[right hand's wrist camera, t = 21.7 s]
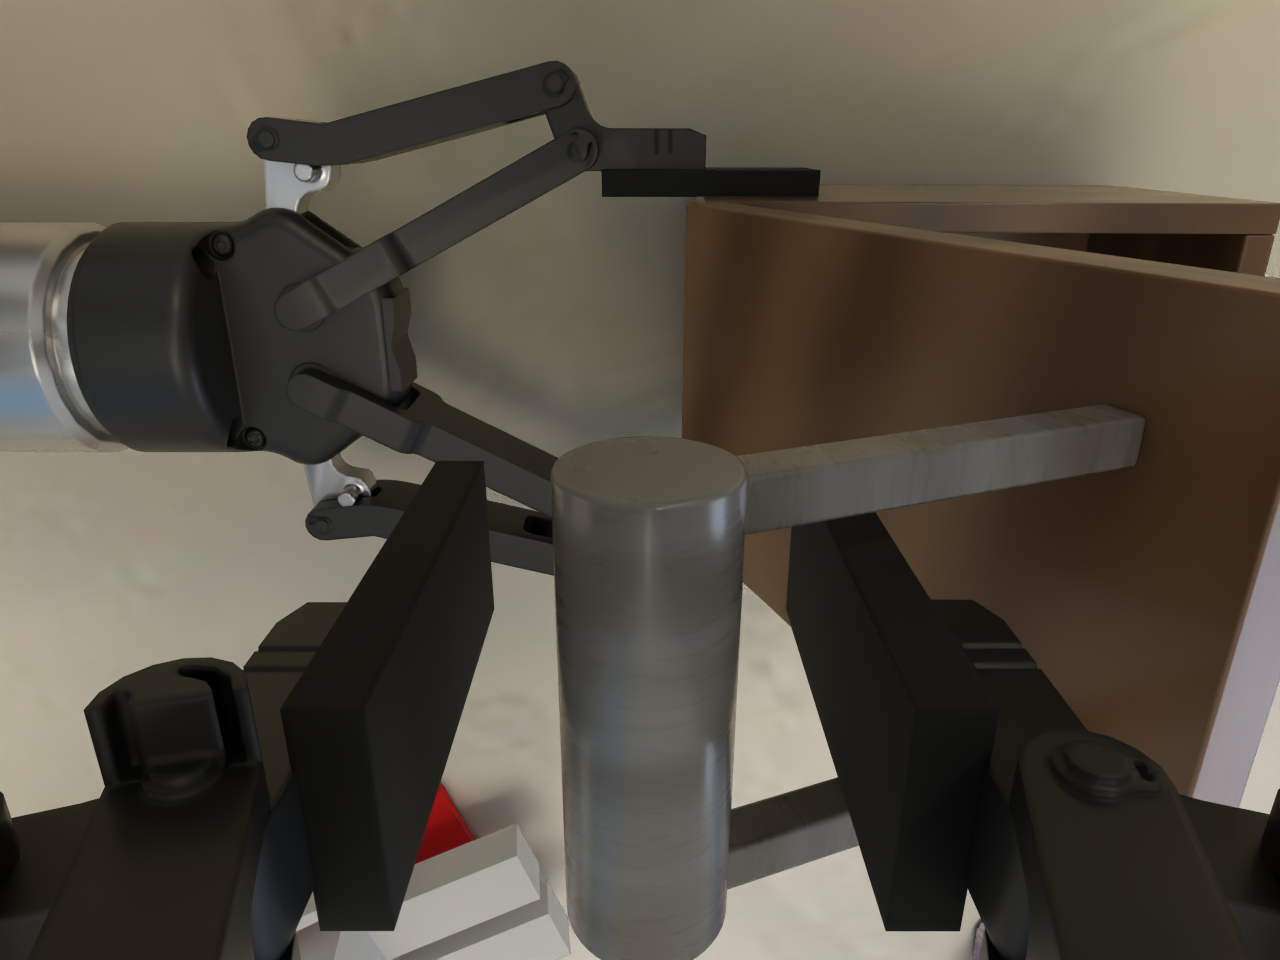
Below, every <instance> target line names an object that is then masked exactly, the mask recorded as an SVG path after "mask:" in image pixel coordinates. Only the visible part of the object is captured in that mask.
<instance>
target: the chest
mask: <svg viewBox="0 0 1280 960" xmlns="http://www.w3.org/2000/svg"><path fill="white" fill-rule="evenodd" d="M720 202H726V203H733V204H741V205H748V206H755V207H762V208H770V209H777V210H784V211H792V212H799V213H806V214H813V215H821V216H828V217H835V218H843V219H850V220H857V221H864V222H872V223H879V224H886V225H893V226H901V227H908V228H915V229H923V230H930V231H937V232H944V233H952V234H959V235H966V236H974V237H981V238H988V239H995V240H1003V241H1010V242H1017V243H1025V244H1032V245H1039V246H1046V247H1054V248H1061V249H1068V250H1075V251H1083V252H1090V253H1097V254H1105V255H1112V256H1119V257H1126V258H1134V259H1141V260H1148V261H1156V262H1163V263H1170V264H1177V265H1185V266H1192V267H1199V268H1207V269H1214V270H1221V271H1228V272H1236V273H1243V274H1250V275H1257V276H1265V272H1266V268H1267V264H1268V260H1269V257H1270V253H1271V249H1272V245H1273V241H1274V235H1273V234H1276V232H1277V228H1278V224H1279V220H1280V203H1273V202H1263V201H1254V200H1244V199H1235V198H1225V197H1215V196H1206V195H1196V194H1187V193H1177V192H1168V191H1158V190H1148V189H1139V188H1129V187H1120V186H1109V185H847V184H819V196H703V197H696V203H720Z"/></svg>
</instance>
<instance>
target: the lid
mask: <svg viewBox="0 0 1280 960" xmlns="http://www.w3.org/2000/svg"><path fill="white" fill-rule="evenodd" d="M550 477H551V503H552V529H553V555H554V581H555V607H556V633H557V659H558V685H559V711H560V737H561V763H562V789H563V815H564V841H565V867H566V893H567V911H568V917H569V921H570V924H571V926H572V928H573V930H574V932H575V934H576V936H577V937H578V938H579V940H580V941H581V943H582V944H583V945H584V946H585V947H586V948H587V949H588V950H589V951H590V952H591V953H592V954H594V955H595V956H596V957H598V958H599V959H601V960H693V959H695V958H696V957H698V956H699V955H700V954H702V953H703V952H704V951H705V950H706V949H707V948H708V947H709V946H710V945H711V944H712V942H713V941H714V940H715V938H716V937H717V935H718V934H719V932H720V930H721V928H722V925H723V922H724V919H725V913H726V899H727V889H730V888H733V887H736V886H739V885H742V884H745V883H748V882H751V881H754V880H757V879H760V878H763V877H766V876H769V875H772V874H775V873H778V872H781V871H784V870H787V869H790V868H793V867H796V866H799V865H802V864H805V863H808V862H811V861H814V860H817V859H820V858H823V857H826V856H829V855H832V854H835V853H838V852H841V851H844V850H847V849H850V848H853V847H856V846H859V843H858V840H857V836H856V833H855V830H854V827H853V824H852V820H851V817H850V814H849V811H848V808H847V804H846V801H845V798H844V795H843V791H842V788H841V785H840V782H839V779H838V777H837V778H834V779H831V780H827V781H824V782H821V783H817V784H814V785H811V786H807V787H804V788H801V789H797V790H794V791H791V792H787V793H784V794H781V795H777V796H774V797H771V798H767V799H764V800H761V801H757V802H754V803H751V804H747V805H744V806H741V807H737V808H734V809H731V800H732V781H733V761H734V741H735V721H736V701H737V682H738V662H739V642H740V622H741V603H742V583H744V584H746V585H747V586H748V587H749V588H750V589H751V590H752V591H753V592H754V593H755V594H756V595H757V596H759V597H760V598H761V599H762V600H763V601H764V602H765V603H766V604H767V605H768V606H769V607H770V608H771V609H773V610H774V611H775V612H776V613H777V614H778V615H779V616H780V617H781V618H782V619H783V620H784V621H786V622H787V623H788V624H789V625H790V626H791V624H790V621H789V618H788V614H787V611H786V599H787V584H788V570H789V556H790V541H791V527H794V526H799V525H805V524H810V523H816V522H822V521H827V520H833V519H839V518H844V517H850V516H856V515H861V514H867V513H873V512H876V514H877V515H878V517H879V518H880V520H881V522H882V523H883V525H884V526H885V528H886V530H887V531H888V533H889V534H890V536H891V537H892V539H893V541H894V542H895V544H896V545H897V547H898V548H899V550H900V552H901V553H902V555H903V556H904V558H905V560H906V561H907V563H908V564H909V566H910V567H911V569H912V571H913V572H914V574H915V575H916V577H917V579H918V580H919V582H920V583H921V585H922V586H923V588H924V590H925V591H926V593H927V594H928V596H929V598H930V599H931V600H974V601H976V602H977V603H979V604H980V605H982V606H983V607H985V608H986V609H988V610H989V611H991V612H992V613H994V614H996V615H997V616H999V617H1000V618H1002V619H1003V620H1004V621H1005V622H1006V623H1007V625H1008V626H1009V627H1010V629H1011V630H1012V631H1013V633H1014V634H1015V635H1016V637H1017V638H1018V639H1019V640H1020V642H1021V643H1022V649H1026V650H1027V651H1028V652H1029V654H1030V655H1031V656H1032V658H1033V659H1034V660H1035V662H1036V663H1037V669H1041V670H1042V671H1043V672H1044V673H1045V675H1046V676H1047V677H1048V679H1049V680H1050V681H1051V683H1052V684H1053V685H1054V687H1055V688H1056V689H1057V691H1058V692H1059V693H1060V695H1061V696H1062V697H1063V699H1064V700H1065V701H1066V703H1067V704H1068V705H1069V706H1070V708H1071V709H1072V710H1073V712H1074V713H1075V714H1076V716H1077V717H1078V718H1079V720H1080V721H1081V722H1082V724H1083V725H1084V726H1085V728H1086V729H1087V730H1088V731H1091V732H1095V733H1099V734H1103V735H1107V736H1110V737H1112V738H1115V739H1117V740H1119V741H1121V742H1123V743H1125V744H1128V745H1130V746H1132V747H1134V748H1136V749H1138V750H1140V751H1141V752H1142V753H1144V754H1145V755H1146V756H1148V757H1149V758H1150V759H1152V760H1153V761H1154V762H1156V763H1157V764H1158V765H1160V766H1161V767H1162V768H1163V770H1164V771H1165V772H1166V774H1167V775H1168V776H1169V778H1170V779H1171V781H1172V782H1173V783H1174V785H1175V786H1176V788H1177V791H1178V793H1179V794H1181V795H1184V796H1188V797H1192V798H1195V799H1199V800H1203V801H1208V802H1213V803H1218V804H1222V805H1227V806H1232V807H1236V808H1239V805H1240V802H1241V799H1242V796H1243V793H1244V790H1245V786H1246V783H1247V780H1248V777H1249V774H1250V771H1251V768H1252V764H1253V761H1254V758H1255V755H1256V752H1257V749H1258V746H1259V743H1260V739H1261V736H1262V733H1263V730H1264V727H1265V724H1266V721H1267V718H1268V714H1269V711H1270V708H1271V705H1272V702H1273V699H1274V696H1275V693H1276V689H1277V686H1278V683H1279V680H1280V279H1279V278H1272V277H1265V276H1257V275H1250V274H1243V273H1236V272H1228V271H1221V270H1214V269H1207V268H1199V267H1192V266H1185V265H1177V264H1170V263H1163V262H1156V261H1148V260H1141V259H1134V258H1126V257H1119V256H1112V255H1105V254H1097V253H1090V252H1083V251H1075V250H1068V249H1061V248H1054V247H1046V246H1039V245H1032V244H1025V243H1017V242H1010V241H1003V240H995V239H988V238H981V237H974V236H966V235H959V234H952V233H944V232H937V231H930V230H923V229H915V228H908V227H901V226H893V225H886V224H879V223H872V222H864V221H857V220H850V219H843V218H835V217H828V216H821V215H813V214H806V213H799V212H792V211H784V210H777V209H770V208H762V207H755V206H748V205H741V204H733V203H726V202H720V203H689V204H687V217H686V266H685V314H684V363H683V412H682V439H681V438H672V437H655V436H639V437H624V438H615V439H609V440H603V441H598V442H594V443H590V444H587V445H583V446H581V447H578V448H575V449H573V450H571V451H569V452H567V453H565V454H564V455H562V456H561V457H560V458H558V460H557V461H556V462H555V464H554V466H553V468H552V470H551V476H550Z"/></svg>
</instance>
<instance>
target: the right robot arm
mask: <svg viewBox="0 0 1280 960" xmlns="http://www.w3.org/2000/svg"><path fill="white" fill-rule="evenodd" d="M493 611H494V599H493V584H492V570H491V556H490V541H489V527H488V513H487V498H486V484H485V470H484V461H436V463H435V465H434V466H433V468H432V469H431V471H430V473H429V474H428V476H427V477H426V479H425V480H424V482H423V484H422V485H421V487H420V488H419V490H418V492H417V493H416V495H415V496H414V498H413V499H412V501H411V503H410V504H409V506H408V507H407V509H406V511H405V512H404V514H403V515H402V517H401V518H400V520H399V522H398V523H397V525H396V526H395V528H394V529H393V531H392V533H391V534H390V536H389V537H388V539H387V541H386V542H385V544H384V545H383V547H382V548H381V550H380V552H379V553H378V555H377V556H376V558H375V560H374V561H373V563H372V564H371V566H370V567H369V569H368V571H367V572H366V574H365V575H364V577H363V579H362V580H361V582H360V583H359V585H358V586H357V588H356V590H355V591H354V593H353V594H352V596H351V598H350V599H349V601H348V602H308V603H306V604H305V605H303V606H301V607H300V608H298V609H297V610H295V611H294V612H292V613H291V614H289V615H288V616H286V617H285V618H283V619H282V620H280V621H279V622H277V623H276V624H275V626H274V627H273V628H272V630H271V631H270V632H269V634H268V635H267V636H266V638H265V639H264V640H263V642H262V643H261V644H260V646H259V650H258V652H254V653H253V655H252V656H251V657H250V659H249V660H248V661H247V663H246V664H245V665H244V670H242V669H240V668H239V667H238V666H237V665H235V664H234V663H233V662H229V661H224V660H220V659H215V658H183V659H179V660H174V661H170V662H165V663H160V664H156V665H152V666H150V667H147V668H145V669H142V670H140V671H137V672H135V673H132V674H130V675H127V676H125V677H123V678H121V679H119V680H118V681H116V682H115V683H113V684H112V685H110V686H109V687H107V688H105V689H104V690H102V691H101V692H99V693H98V694H97V696H96V697H95V698H94V699H93V700H92V701H91V702H90V703H89V705H88V706H87V707H86V708H85V709H84V713H85V717H86V720H87V724H88V728H89V731H90V735H91V738H92V742H93V745H94V749H95V752H96V756H97V760H98V763H99V767H100V770H101V774H102V777H103V781H104V785H105V788H104V790H103V792H102V794H101V797H100V798H99V799H95V800H92V801H88V802H84V803H81V804H76V805H71V806H67V807H62V808H57V809H52V810H48V811H43V812H38V813H34V814H29V815H24V816H20V817H15V818H11V816H10V813H9V810H8V807H7V804H6V801H5V798H4V795H3V793H1V792H0V960H301V957H300V950H299V944H298V939H297V934H296V929H297V926H298V924H299V922H300V919H301V917H302V915H303V913H304V910H305V908H306V906H307V903H308V901H309V899H310V897H311V894H312V892H313V894H314V900H315V905H316V911H317V916H318V922H319V927H320V931H394V930H395V927H396V923H397V920H398V917H399V914H400V911H401V907H402V904H403V901H404V898H405V894H406V891H407V888H408V885H409V882H410V878H411V875H412V872H413V869H414V865H415V862H416V859H417V856H418V853H419V849H420V846H421V843H422V840H423V836H424V833H425V830H426V827H427V824H428V820H429V817H430V814H431V811H432V808H433V804H434V801H435V798H436V795H437V791H438V788H439V785H440V782H441V779H442V775H443V772H444V769H445V766H446V762H447V759H448V756H449V753H450V750H451V746H452V743H453V740H454V737H455V733H456V730H457V727H458V724H459V721H460V717H461V714H462V711H463V708H464V705H465V701H466V698H467V695H468V692H469V688H470V685H471V682H472V679H473V676H474V672H475V669H476V666H477V663H478V659H479V656H480V653H481V650H482V647H483V643H484V640H485V637H486V634H487V630H488V627H489V624H490V621H491V618H492V614H493ZM786 611H787V614H788V618H789V621H790V624H791V627H792V630H793V634H794V637H795V640H796V643H797V647H798V650H799V653H800V656H801V659H802V663H803V666H804V669H805V672H806V676H807V679H808V682H809V685H810V688H811V692H812V695H813V698H814V701H815V705H816V708H817V711H818V714H819V717H820V721H821V724H822V727H823V730H824V733H825V737H826V740H827V743H828V746H829V750H830V753H831V756H832V759H833V762H834V766H835V769H836V772H837V775H838V779H839V782H840V785H841V788H842V791H843V795H844V798H845V801H846V804H847V808H848V811H849V814H850V817H851V820H852V824H853V827H854V830H855V833H856V836H857V840H858V843H859V846H860V849H861V853H862V856H863V859H864V862H865V865H866V869H867V872H868V875H869V878H870V882H871V885H872V888H873V891H874V894H875V898H876V901H877V904H878V907H879V911H880V914H881V917H882V920H883V923H884V927H885V930H886V931H960V927H961V922H962V916H963V911H964V905H965V900H966V894H967V889H968V890H969V892H970V894H971V897H972V899H973V901H974V904H975V906H976V908H977V910H978V913H979V915H980V917H981V920H982V922H983V924H984V926H985V928H984V934H983V939H982V944H981V949H980V954H979V959H978V960H1280V789H1279V790H1278V792H1277V795H1276V798H1275V801H1274V804H1273V807H1272V810H1271V813H1270V814H1265V813H1260V812H1255V811H1251V810H1246V809H1241V808H1236V807H1232V806H1227V805H1222V804H1218V803H1213V802H1208V801H1203V800H1199V799H1195V798H1192V797H1188V796H1184V795H1181V794H1179V793H1178V791H1177V788H1176V786H1175V785H1174V783H1173V782H1172V781H1171V779H1170V778H1169V776H1168V775H1167V774H1166V772H1165V771H1164V770H1163V768H1162V767H1161V766H1160V765H1158V764H1157V763H1156V762H1154V761H1153V760H1152V759H1150V758H1149V757H1148V756H1146V755H1145V754H1144V753H1142V752H1141V751H1140V750H1138V749H1136V748H1134V747H1132V746H1130V745H1128V744H1125V743H1123V742H1121V741H1119V740H1117V739H1115V738H1112V737H1110V736H1107V735H1103V734H1099V733H1095V732H1091V731H1088V730H1087V729H1086V728H1085V726H1084V725H1083V724H1082V722H1081V721H1080V720H1079V718H1078V717H1077V716H1076V714H1075V713H1074V712H1073V710H1072V709H1071V708H1070V706H1069V705H1068V704H1067V703H1066V701H1065V700H1064V699H1063V697H1062V696H1061V695H1060V693H1059V692H1058V691H1057V689H1056V688H1055V687H1054V685H1053V684H1052V683H1051V681H1050V680H1049V679H1048V677H1047V676H1046V675H1045V673H1044V672H1043V671H1042V670H1041V669H1037V663H1036V662H1035V660H1034V659H1033V658H1032V656H1031V655H1030V654H1029V652H1028V651H1027V650H1026V649H1022V643H1021V642H1020V640H1019V639H1018V638H1017V637H1016V635H1015V634H1014V633H1013V631H1012V630H1011V629H1010V627H1009V626H1008V625H1007V623H1006V622H1005V621H1004V620H1003V619H1002V618H1000V617H999V616H997V615H996V614H994V613H992V612H991V611H989V610H988V609H986V608H985V607H983V606H982V605H980V604H979V603H977V602H976V601H974V600H931V599H930V598H929V596H928V594H927V593H926V591H925V590H924V588H923V586H922V585H921V583H920V582H919V580H918V579H917V577H916V575H915V574H914V572H913V571H912V569H911V567H910V566H909V564H908V563H907V561H906V560H905V558H904V556H903V555H902V553H901V552H900V550H899V548H898V547H897V545H896V544H895V542H894V541H893V539H892V537H891V536H890V534H889V533H888V531H887V530H886V528H885V526H884V525H883V523H882V522H881V520H880V518H879V517H878V515H877V514H876V512H873V513H867V514H861V515H856V516H850V517H844V518H839V519H833V520H827V521H822V522H816V523H810V524H805V525H799V526H794V527H791V541H790V556H789V570H788V584H787V599H786Z"/></svg>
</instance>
